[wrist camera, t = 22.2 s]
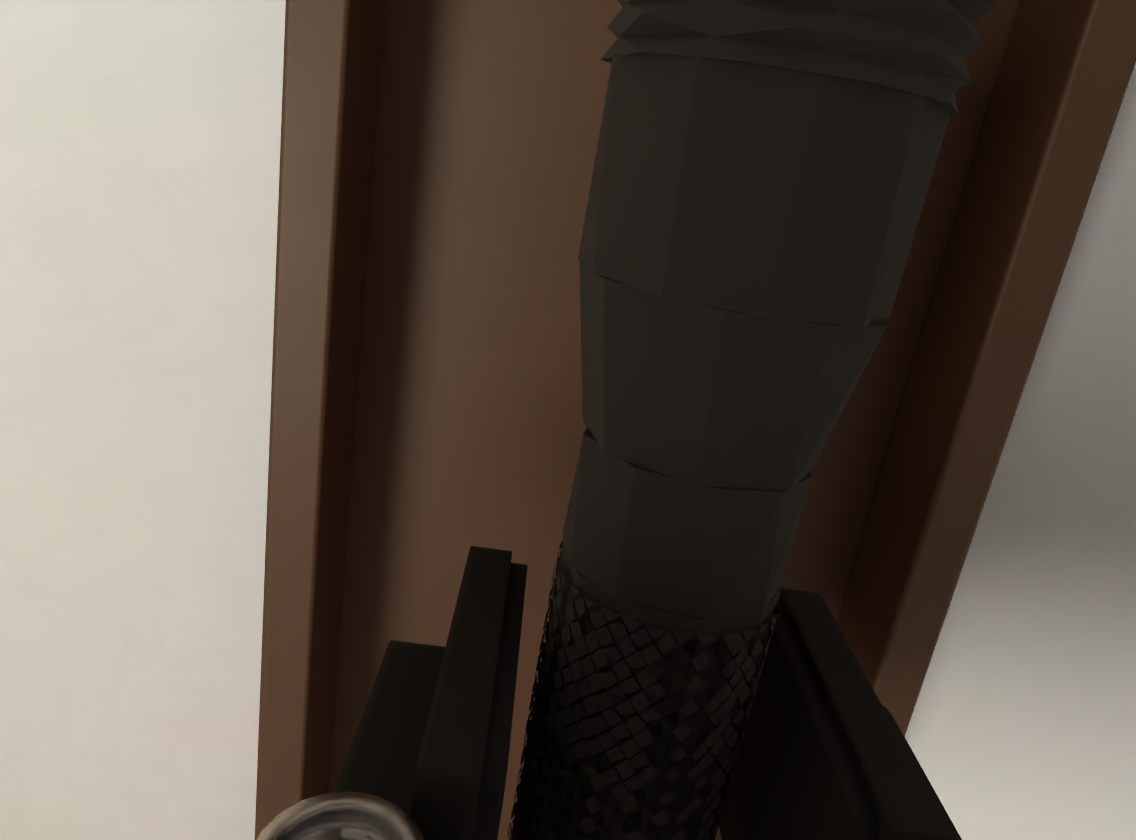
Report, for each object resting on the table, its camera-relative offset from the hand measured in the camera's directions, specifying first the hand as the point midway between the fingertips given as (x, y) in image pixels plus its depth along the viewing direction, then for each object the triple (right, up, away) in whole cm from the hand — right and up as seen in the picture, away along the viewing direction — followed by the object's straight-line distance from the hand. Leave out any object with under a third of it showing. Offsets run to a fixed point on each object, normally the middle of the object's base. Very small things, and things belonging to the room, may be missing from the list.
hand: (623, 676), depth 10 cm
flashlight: (0, 0, 0) cm, 0 cm away
